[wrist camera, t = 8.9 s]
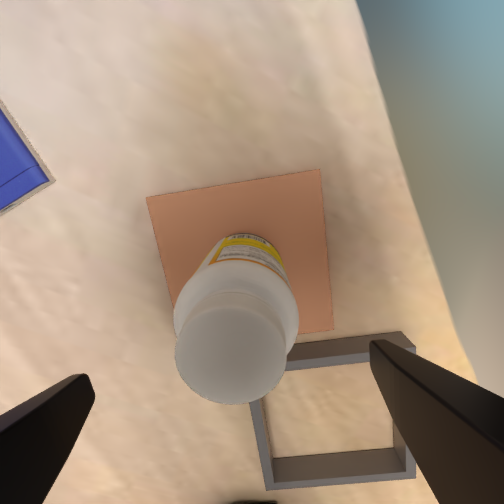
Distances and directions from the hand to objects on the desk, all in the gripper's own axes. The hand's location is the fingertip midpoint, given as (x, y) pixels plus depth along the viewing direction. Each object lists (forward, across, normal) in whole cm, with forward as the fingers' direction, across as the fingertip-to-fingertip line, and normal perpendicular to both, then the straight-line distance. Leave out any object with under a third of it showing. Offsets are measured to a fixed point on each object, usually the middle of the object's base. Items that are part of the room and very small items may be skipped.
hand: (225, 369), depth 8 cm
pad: (+12, 0, 0) cm, 12 cm away
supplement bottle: (+11, 0, 0) cm, 11 cm away
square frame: (+11, -5, +14) cm, 19 cm away
